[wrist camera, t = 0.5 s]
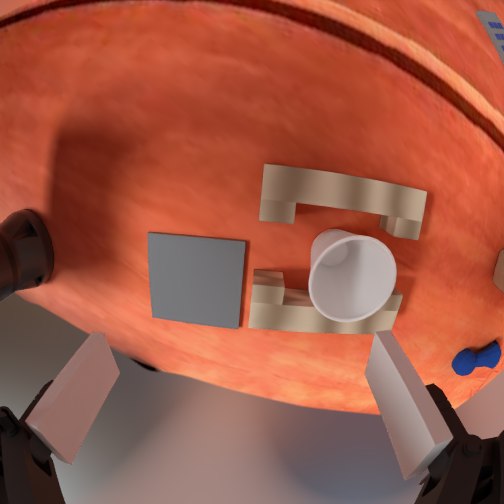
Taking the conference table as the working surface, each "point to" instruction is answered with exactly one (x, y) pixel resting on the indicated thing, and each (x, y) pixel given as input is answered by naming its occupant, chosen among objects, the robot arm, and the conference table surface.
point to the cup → (350, 275)
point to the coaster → (196, 279)
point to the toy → (476, 359)
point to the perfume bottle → (499, 272)
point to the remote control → (493, 30)
